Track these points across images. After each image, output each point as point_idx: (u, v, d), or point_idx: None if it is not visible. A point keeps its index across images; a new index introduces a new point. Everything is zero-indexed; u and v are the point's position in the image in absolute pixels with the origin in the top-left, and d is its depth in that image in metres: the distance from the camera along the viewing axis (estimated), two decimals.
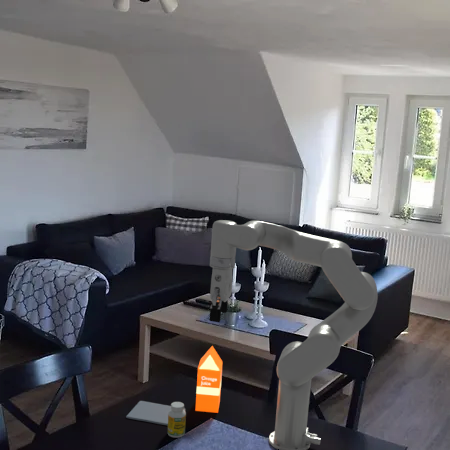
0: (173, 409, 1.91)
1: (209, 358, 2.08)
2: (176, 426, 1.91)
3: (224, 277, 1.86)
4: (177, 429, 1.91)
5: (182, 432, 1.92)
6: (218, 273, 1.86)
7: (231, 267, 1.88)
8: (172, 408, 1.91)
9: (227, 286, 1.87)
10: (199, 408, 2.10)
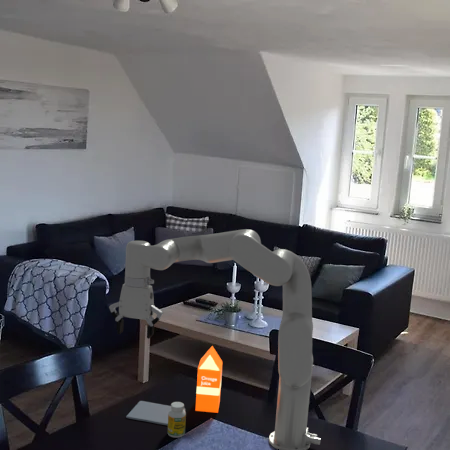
0: (173, 409, 1.91)
1: (209, 358, 2.08)
2: (176, 426, 1.91)
3: (152, 292, 1.95)
4: (177, 429, 1.91)
5: (182, 432, 1.92)
6: (151, 291, 1.93)
7: None
8: (172, 408, 1.91)
9: None
10: (199, 408, 2.10)
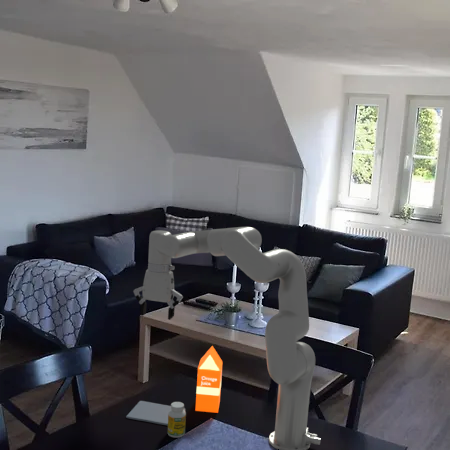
0: (173, 409, 1.91)
1: (209, 358, 2.08)
2: (176, 426, 1.91)
3: (173, 278, 2.14)
4: (177, 429, 1.91)
5: (182, 432, 1.92)
6: (171, 276, 2.12)
7: None
8: (172, 408, 1.91)
9: None
10: (199, 408, 2.10)
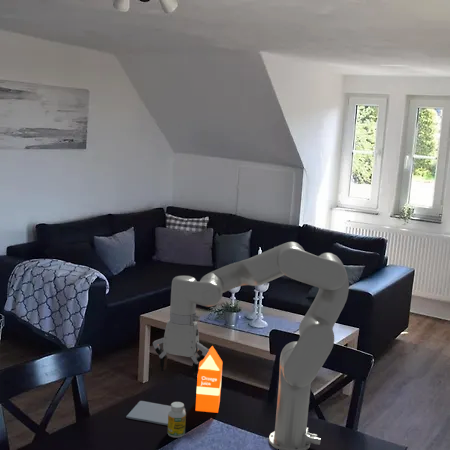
0: (173, 409, 1.91)
1: (209, 358, 2.08)
2: (176, 426, 1.91)
3: None
4: (177, 429, 1.91)
5: (182, 432, 1.92)
6: (196, 328, 1.88)
7: None
8: (172, 408, 1.91)
9: None
10: (199, 408, 2.10)
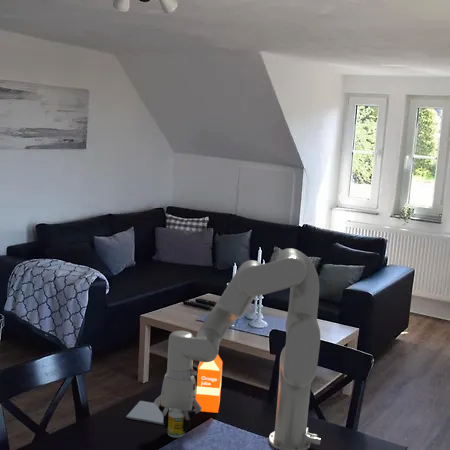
0: (173, 409, 1.91)
1: None
2: (176, 425, 1.91)
3: None
4: (177, 429, 1.91)
5: (182, 432, 1.92)
6: (193, 382, 1.90)
7: None
8: (172, 408, 1.91)
9: None
10: None
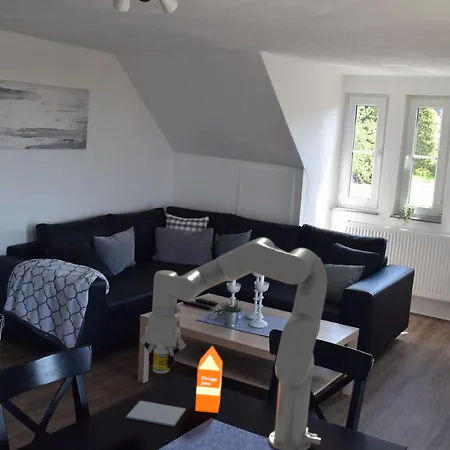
0: (158, 346, 1.99)
1: (209, 358, 2.08)
2: (161, 361, 1.99)
3: (179, 321, 2.00)
4: (162, 364, 1.99)
5: (167, 368, 2.00)
6: (177, 320, 1.98)
7: None
8: (157, 345, 1.99)
9: None
10: (199, 408, 2.10)
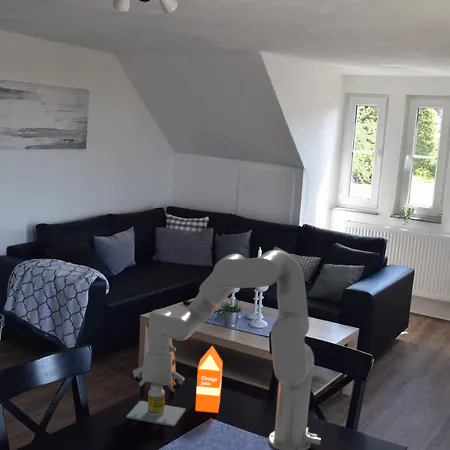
0: (152, 389, 2.03)
1: (209, 358, 2.08)
2: (155, 404, 2.03)
3: (174, 359, 2.04)
4: (157, 407, 2.03)
5: (161, 410, 2.04)
6: (173, 358, 2.02)
7: None
8: (151, 388, 2.03)
9: None
10: (199, 408, 2.10)
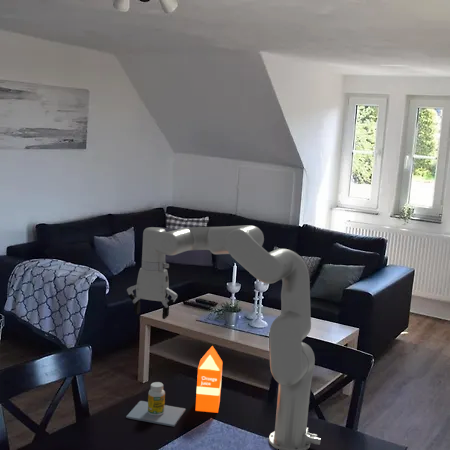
0: (152, 389, 2.03)
1: (209, 358, 2.08)
2: (155, 404, 2.03)
3: None
4: (157, 407, 2.03)
5: (161, 410, 2.04)
6: (166, 274, 2.06)
7: None
8: (152, 388, 2.03)
9: None
10: (199, 408, 2.10)
